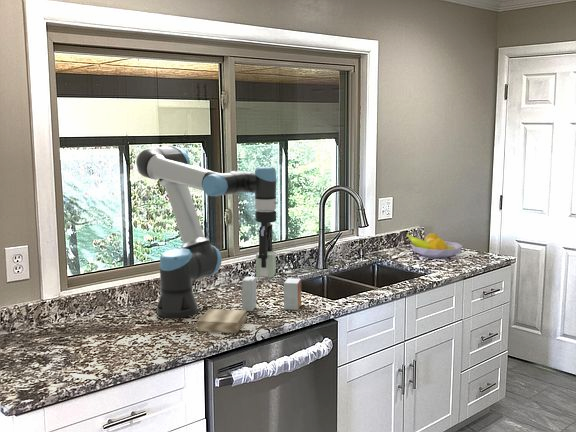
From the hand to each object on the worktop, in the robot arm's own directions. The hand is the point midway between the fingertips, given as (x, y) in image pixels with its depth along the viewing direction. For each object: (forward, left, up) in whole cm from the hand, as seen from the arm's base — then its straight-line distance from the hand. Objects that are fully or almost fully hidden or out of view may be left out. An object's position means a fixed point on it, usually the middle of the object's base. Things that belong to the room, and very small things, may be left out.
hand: (265, 273), depth 220 cm
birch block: (-14, -10, -17) cm, 24 cm away
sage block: (0, 0, 0) cm, 0 cm away
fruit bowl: (+67, +118, -17) cm, 137 cm away
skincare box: (-9, +10, -17) cm, 21 cm away
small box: (+7, +15, -17) cm, 24 cm away
